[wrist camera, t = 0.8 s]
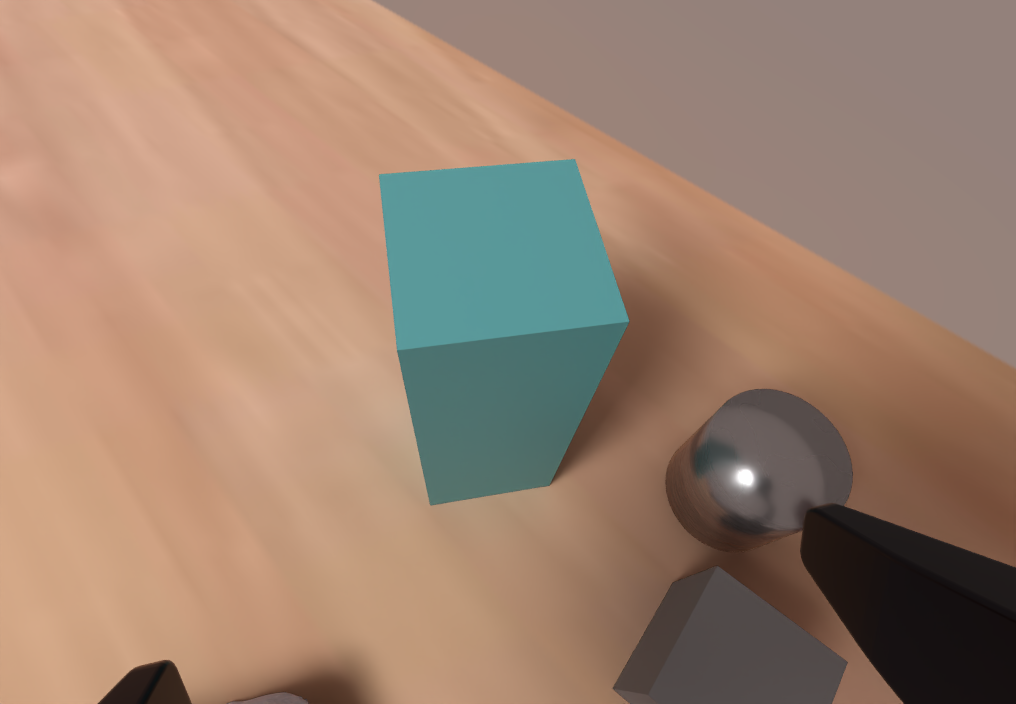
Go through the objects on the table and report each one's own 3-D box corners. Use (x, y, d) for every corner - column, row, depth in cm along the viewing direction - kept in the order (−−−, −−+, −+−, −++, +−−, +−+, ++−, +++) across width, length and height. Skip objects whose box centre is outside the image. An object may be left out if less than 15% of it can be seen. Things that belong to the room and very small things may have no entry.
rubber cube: (775, 662, 21) (847, 662, 17) (722, 782, 19) (789, 813, 15) (672, 582, 22) (717, 565, 18) (611, 688, 20) (647, 694, 16)
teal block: (549, 485, 23) (629, 321, 12) (430, 505, 23) (397, 350, 11) (525, 379, 26) (574, 159, 14) (417, 394, 25) (379, 174, 14)
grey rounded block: (804, 503, 24) (880, 468, 20) (728, 578, 22) (792, 559, 18) (718, 415, 26) (770, 365, 21) (641, 479, 24) (681, 438, 20)
